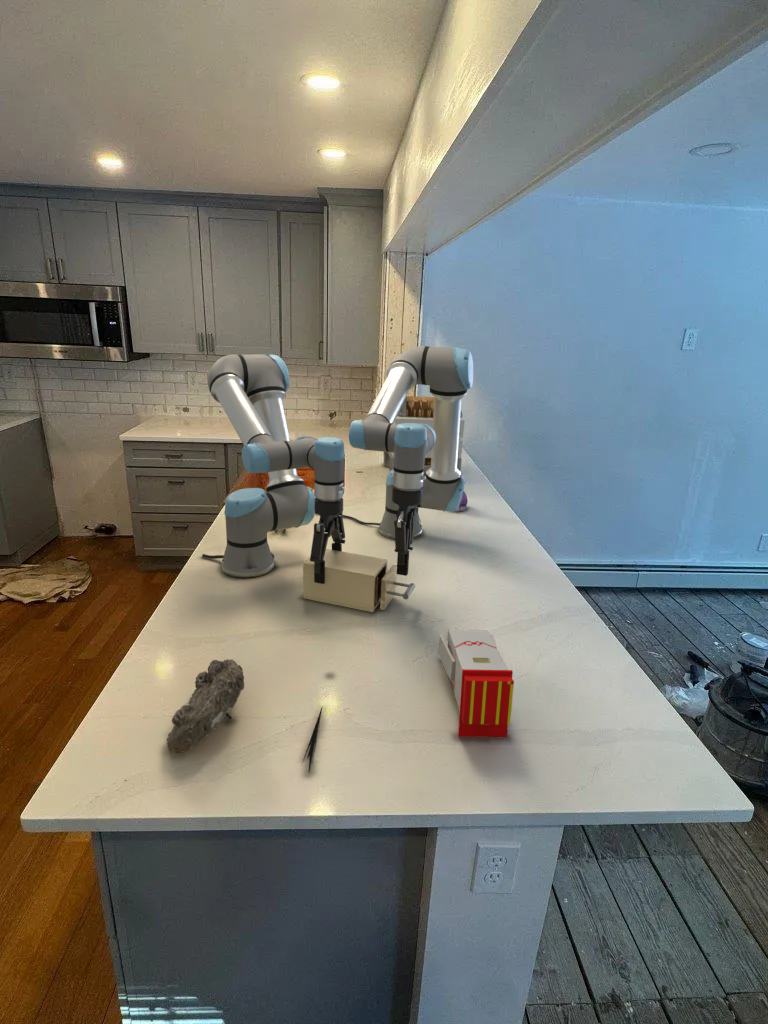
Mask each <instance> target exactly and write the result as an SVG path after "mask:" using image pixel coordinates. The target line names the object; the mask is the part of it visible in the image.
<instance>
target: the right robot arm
mask: <svg viewBox="0 0 768 1024" xmlns="http://www.w3.org/2000/svg"><path fill="white" fill-rule="evenodd" d="M473 360H474V359H473V355H472V352H470V350H469V349H466V348H461V347H454V346H453V347H452V346H451V347H450V346H427V345H418V346H413V347H411V348H409V349H407V350H405V351H403V352H402V353H400V354H399V355H398V356H396V357H395V358H394V359H393V360H392V362H391V363H390V364H389V366H388V367H387V369H386V374H385V376H386V377H385V378H386V379H385V381H384V382H383V384H382V385H381V388H380V390H379V392H378V394H377V396H376V398H375V399H374V401H373V403H372V405H371V407H370V409H369V411H368V413H367V415H366V416H365V418H364V420H363V419H355V420H353V421H352V422H351V424H350V425H349V430H348V442H349V445H350V446H351V447H352V448H355V449H359V450H364V451H373V452H374V451H375V452H383V453H384V452H391V453H394V469H393V470H391V471H390V470H389V472H388V473H387V475H386V482H385V504H384V505H385V507H384V508H385V509H384V513H383V515H382V519H381V522H365V521H361V520H359V519H358V518H355V517H354V516H350V515H345V514H343V515H342V517H343V518H346V519H350V520H353V521H355V522H357V523H359V524H361V525H367V526H378V533H379V534H380V535H381V536H382V537H385V538H387V539H389V540H394V546H395V547H394V549H393V551H394V552H395V553H397V559H396V565H397V571H396V575H397V576H398V575H399V576H405V577H407V576H408V574H409V562H410V551H413V549H414V547H413V546H412V545H413V540H415V539H418V538H420V537H421V536H422V535H423V525H422V524H421V523H422V520H421V518H420V515H419V508H421V509H428V510H434V511H435V510H436V511H442V512H452V513H454V512H455V511H456V510H457V509H458V507H459V505H460V502H461V498H462V494H463V491H464V490H465V484H466V479H465V478H464V477H462V478H461V472H462V471H461V472H460V471H459V470H458V469H457V457H458V443H459V428H460V414H461V412H462V399H463V398H464V397H465V396H466V395H467V393H468V390H469V389H471V388H472V387H473V384H474V361H473ZM416 385H421V386H422V385H423V386H429V394H431V396H432V397H434V412H433V429H432V428H431V427H430V426H429V425H427V424H417V423H403V424H393V423H394V421H395V419H396V417H397V415H398V413H399V411H400V408H401V406H402V404H403V402H404V400H405V398H406V396H408V394H409V391H410V390H412V389H414V388H415V387H416ZM431 449H432V454H431V465H430V466H429V468H427V469H426V471H425V466H424V463H425V455H426V454H427V453H428V452H430V450H431ZM424 471H425V473H424ZM315 514H316V515H319V514H318V513H316V512H315Z"/></svg>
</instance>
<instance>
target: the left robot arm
mask: <svg viewBox="0 0 768 1024" xmlns="http://www.w3.org/2000/svg"><path fill="white" fill-rule="evenodd" d="M289 380H290V373H289V369H288V367H287V364H286V362H285V361H284V359H282V358H281V357H280V356H279V355H277V354H269V353H262V354H261V353H260V354H259V353H258V354H257V353H255V354H234V353H233V354H227V355H224V356H222V357H220V358H219V359H217V360H216V361H215V362H214V363H213V365H211V368H210V369H209V372H208V376H207V387H208V390H209V393H210V394H211V397H212V399H214V400H215V402H217V403H220V406H221V407H222V409H223V410H224V412H225V414H226V416H227V418H228V420H229V421H230V423H231V425H232V427H233V429H234V430H235V432H236V435H237V437H238V438H239V440H240V441H241V443H242V444H243V447H242V449H241V461H242V464H243V468H244V470H245V471H246V472H248V473H249V474H266V473H267V475H268V479H269V482H268V484H267V485H266V486H265V490H264V489H263V488H261V487H253V488H252V487H246V488H241V489H237V490H235V491H233V492H231V493H229V495H227V497H226V498H225V500H224V517H225V519H224V520H225V534H226V536H225V537H226V545H225V549H224V553H223V554H216V555H215V554H214V555H210V554H206V553H205V554H204V553H202V554H201V556H202V558H205V559H210V560H214V559H216V560H217V559H221V571H222V572H223V573H224V574H226V575H227V576H230V577H233V578H234V577H235V578H244V579H245V578H256V577H260V576H264V575H266V574H268V573H270V572H272V571H273V569H274V567H275V555H274V553H273V552H272V551H271V548H270V546H269V543H268V533H270V532H275V531H277V532H278V531H283V530H284V529H286V530H288V529H294V528H300V527H303V526H307V525H309V524H310V523H312V521H313V519H314V518H315V514H316V513H318V514H317V515H319V520H318V523H317V522H315V523H314V524H313V535H312V543H311V550H310V556H309V557H310V561H312V562H314V582H315V583H320V584H324V583H325V561H324V560H323V559H324V555H325V551H326V549H327V547H328V541H329V539H330V537H331V540H332V543H331V550H336V551H342V552H343V548H342V547H343V544H345V543H346V539H345V538H346V532H345V525H344V519H343V518H344V517H342V515H344V514H343V513H344V498H343V497H344V492H345V490H346V487H345V486H344V483H345V482H344V481H345V457H346V454H345V442H344V441H343V439H341V438H339V437H334V436H322V437H318V438H316V437H313V436H309V435H300V436H299V437H297V438H295V439H292V440H291V438H290V433H289V428H288V423H287V419H286V415H285V409H284V404H283V401H284V399H285V397H286V392H287V391H288V390H289V389H290V381H289ZM305 468H310V469H311V470H313V472H314V475H313V476H314V480H313V481H314V482H313V483H314V485H313V488H314V489H313V488H312V487H310V486H306V485H305V481H304V479H303V478H301V477H300V476H299V475H298V471H297V469H305ZM315 512H316V513H315ZM282 529H283V530H282Z"/></svg>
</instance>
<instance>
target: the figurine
mask: <svg viewBox="0 0 768 1024" xmlns="http://www.w3.org/2000/svg"><path fill="white" fill-rule="evenodd" d="M461 478H463V471H461ZM467 506H468V496H467V494H466V492H465V491H464V490H463V494H462V498H461V502H460V505H459V507H458V509H457V510H456V511H454V512H463V511H465V510H466V509H467Z"/></svg>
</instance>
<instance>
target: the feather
mask: <svg viewBox="0 0 768 1024" xmlns="http://www.w3.org/2000/svg"><path fill="white" fill-rule="evenodd" d="M329 675H330V676H331V675H332V674H331V673H330V674H329ZM322 710H323V707H321V708H320V710H319V713H318V716H317V719H316V723H315V725H314V728H313V731H312V733H311V737H310V739H309V742H308V745H307V748H306V751H305V754H304V757H303V760H302V763H301V767H302V765H303V763H304V761H305V758H308V759H309V760H308V762H307V763H308V764H307V766H308V771H310V770H311V766H312V765H311V764H312V760H313V757H315V756H314V755H315V751H316V749H315V746H317V739H318V733H319V729H320V722H321V717H322V712H323V711H322ZM313 754H314V755H313ZM306 755H307V757H306Z"/></svg>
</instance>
